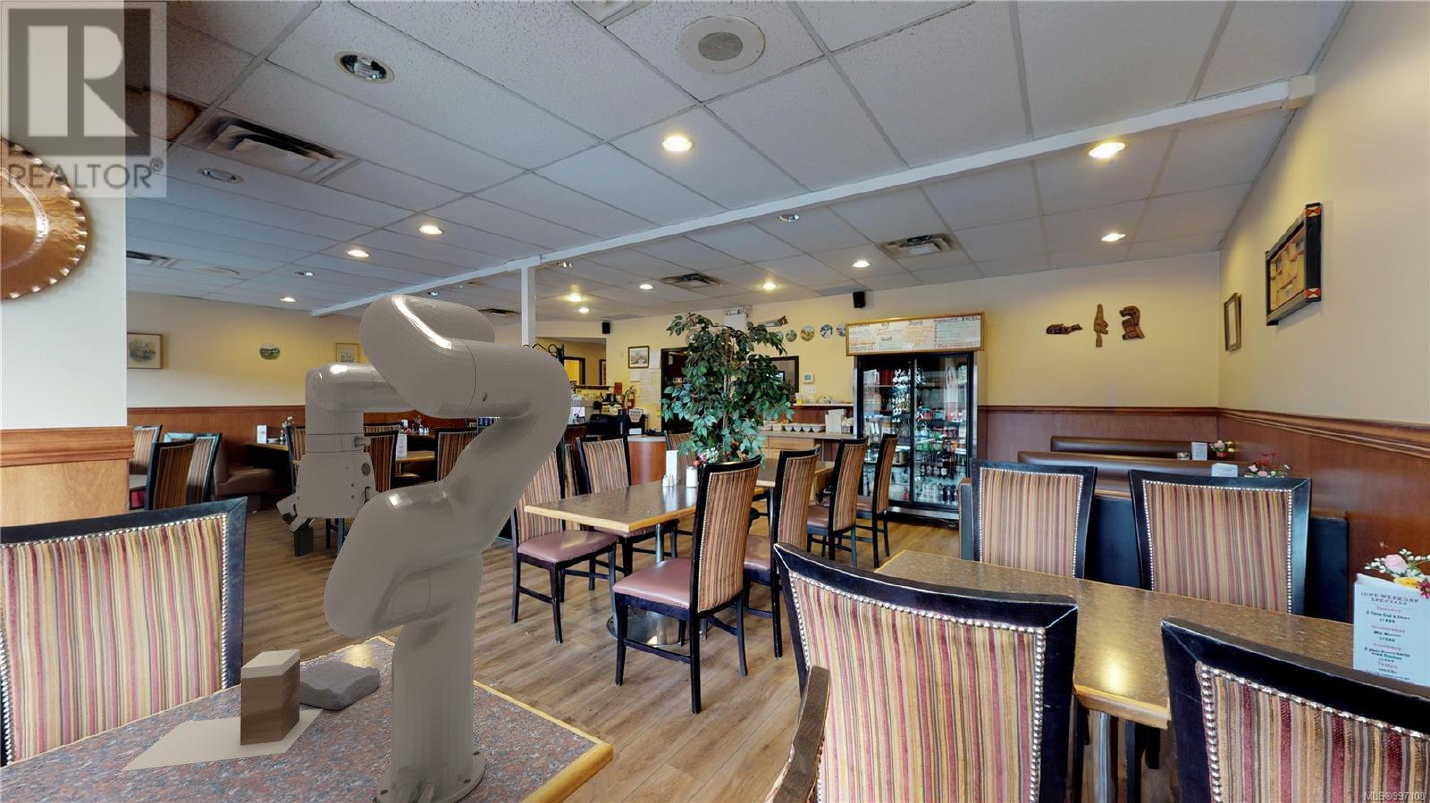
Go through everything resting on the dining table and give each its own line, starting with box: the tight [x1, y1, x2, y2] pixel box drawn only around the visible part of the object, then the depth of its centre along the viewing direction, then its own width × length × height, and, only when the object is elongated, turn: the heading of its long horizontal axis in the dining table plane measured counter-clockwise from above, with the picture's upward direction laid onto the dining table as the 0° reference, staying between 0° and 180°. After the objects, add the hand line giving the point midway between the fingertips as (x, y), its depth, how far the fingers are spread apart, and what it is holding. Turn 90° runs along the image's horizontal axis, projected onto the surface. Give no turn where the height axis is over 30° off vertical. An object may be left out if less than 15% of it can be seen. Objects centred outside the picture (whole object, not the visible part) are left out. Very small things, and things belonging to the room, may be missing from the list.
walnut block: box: [239, 648, 301, 745], centre depth 79 cm, size 5×5×11 cm
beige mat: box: [118, 708, 325, 773], centre depth 78 cm, size 11×19×1 cm, turn 102°
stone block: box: [300, 660, 381, 711], centre depth 90 cm, size 12×5×10 cm
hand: (335, 553), depth 85 cm, fingers open, 9 cm apart
